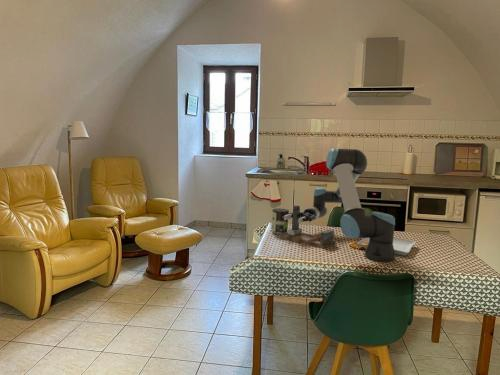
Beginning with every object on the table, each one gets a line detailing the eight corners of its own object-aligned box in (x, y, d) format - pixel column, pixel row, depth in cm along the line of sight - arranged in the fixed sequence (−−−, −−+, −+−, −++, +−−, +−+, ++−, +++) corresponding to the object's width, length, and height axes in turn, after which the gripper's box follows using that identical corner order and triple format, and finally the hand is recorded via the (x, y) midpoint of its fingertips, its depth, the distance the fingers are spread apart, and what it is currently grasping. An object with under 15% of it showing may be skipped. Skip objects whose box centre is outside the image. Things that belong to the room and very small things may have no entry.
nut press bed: (335, 243, 226) (336, 229, 225) (323, 248, 215) (324, 234, 214) (293, 234, 243) (294, 221, 242) (281, 238, 232) (282, 224, 231)
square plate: (368, 238, 241) (369, 232, 240) (416, 247, 227) (416, 240, 226) (356, 249, 218) (356, 242, 217) (408, 258, 204) (408, 251, 203)
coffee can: (290, 232, 247) (292, 210, 245) (281, 234, 239) (282, 212, 237) (277, 229, 254) (278, 207, 252) (267, 231, 246) (269, 209, 244)
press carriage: (301, 233, 236) (303, 205, 234) (293, 235, 229) (295, 207, 227) (296, 232, 239) (297, 204, 236) (288, 234, 232) (289, 206, 229)
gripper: (326, 222, 241) (307, 228, 223) (295, 216, 254) (276, 222, 236) (327, 210, 240) (308, 215, 222) (296, 205, 253) (276, 209, 235)
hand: (291, 219), depth 229 cm, fingers open, 9 cm apart
